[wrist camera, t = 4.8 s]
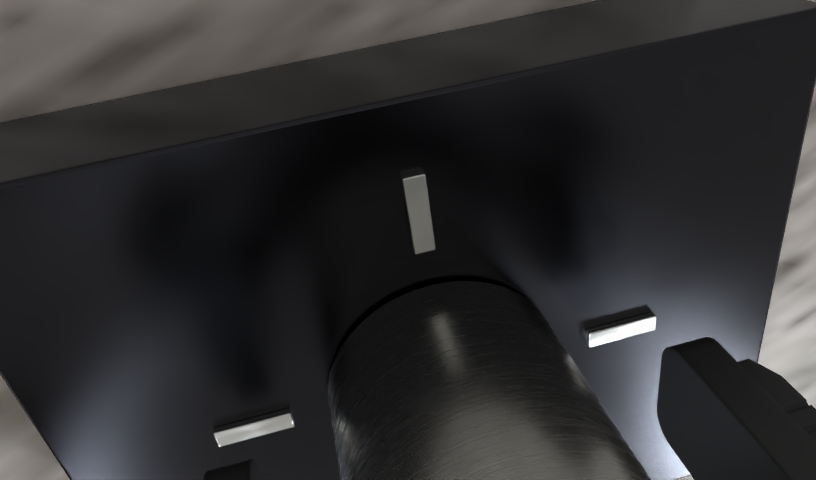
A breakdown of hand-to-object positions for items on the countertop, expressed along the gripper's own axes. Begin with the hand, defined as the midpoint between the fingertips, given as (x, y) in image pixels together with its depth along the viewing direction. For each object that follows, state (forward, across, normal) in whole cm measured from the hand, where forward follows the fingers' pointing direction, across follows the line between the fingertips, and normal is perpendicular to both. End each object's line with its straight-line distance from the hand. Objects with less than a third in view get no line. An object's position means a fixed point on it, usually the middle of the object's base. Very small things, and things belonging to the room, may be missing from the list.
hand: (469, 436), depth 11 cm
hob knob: (+2, 0, 0) cm, 2 cm away
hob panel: (+5, 0, 0) cm, 5 cm away
